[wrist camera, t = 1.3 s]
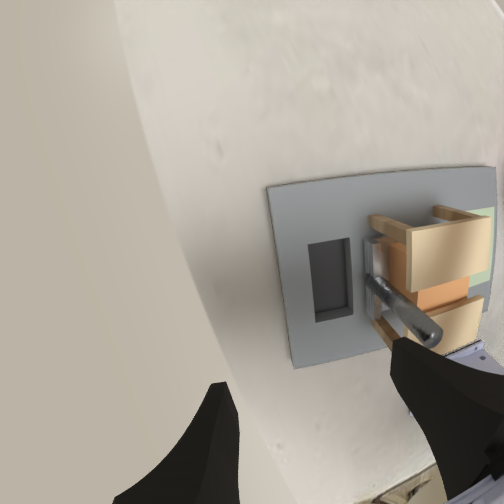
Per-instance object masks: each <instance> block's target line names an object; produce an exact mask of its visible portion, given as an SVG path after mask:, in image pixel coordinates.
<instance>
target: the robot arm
mask: <svg viewBox="0 0 504 504" xmlns="http://www.w3.org/2000/svg"><path fill="white" fill-rule="evenodd" d="M483 347H484V342H483V341H480V342H477V343H475V344H473V345H471V346H469V347H467V348H464V349H462V350H460V351H458V352H455V353H453V354H451V355H448V356H446V357H444V356H442V355H440V354H438V353H436V352H434V351H432V350H430V349H428V348H426V347H424V346H422V345H420V344H419V343H417V342H415V341H413V340H411V339H409V338H407V337H405V336H404V337H402V338H399V339H396V340H393V343H392V358H391V370H390V376H391V378H392V380H393V382H394V385H395V387H396V389H397V391H398V393H399V394H400V396H401V397H402V399H403V400H404V402H405V404H406V405H407V407H408V408H409V410H410V413H409V415H410V416H414V417H415V419H416V420H417V422H418V424H419V425H420V427H421V429H422V430H423V432H424V434H425V436H426V438H427V441H428V443H429V445H430V447H431V450H432V452H433V455H434V457H435V460H436V462H437V465H438V468H439V471H440V474H441V477H442V480H443V484H444V488H445V491H446V495H447V500H448V502H446V503H444V504H504V368H503V367H502V366H501V365H500V364H499V363H498V362H497V361H496V360H495V359H494V358H493V357H492V356H490V355H489V354H488V353H487V352H486V351H485V350H484V349H483ZM239 435H240V432H239V420H238V412H237V410H236V407H235V404H234V402H233V399H232V396H231V394H230V391H229V388H228V386H227V383H226V382H220V383H213V384H211V385H210V387H209V389H208V391H207V393H206V396H205V398H204V400H203V402H202V404H201V406H200V407H199V409H198V411H197V413H196V415H195V416H194V418H193V420H192V422H191V423H190V425H189V426H188V428H187V429H186V431H185V433H184V434H183V436H182V437H181V438H180V440H179V441H178V443H177V444H176V445H175V446H174V448H173V449H172V450H171V451H170V452H169V454H168V455H167V456H166V457H165V458H164V459H163V460H162V461H161V462H160V463H159V464H158V465H157V466H156V467H155V468H154V469H153V470H152V471H151V472H150V473H149V474H147V475H146V476H145V477H144V478H143V479H141V480H140V481H139V482H138V483H136V484H135V485H133V486H132V487H131V488H129V489H128V490H126V491H124V492H123V493H121V494H120V495H118V496H116V497H115V498H114V501H113V503H112V504H240V501H239V490H238V462H239V461H238V460H239V437H240V436H239Z"/></svg>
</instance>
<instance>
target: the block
mask: <svg viewBox="0 0 504 504" xmlns="http://www.w3.org/2000/svg"><path fill="white" fill-rule="evenodd" d="M389 253H390V283H391V284H392V285H393V286H394V287H396V288H397V289H398V290H399V291H400V292H401V293H403V294H404V295H405V296H406V297H407V298H408V299H410V300H411V301H412V302H413V303H414V304H415V305H416V306H418V307H419V308H420V309H421V310H422V311H423V312H424V313H427V312H430V311H433V310H436V309H439V308H442V307H445V306H448V305H451V304H454V303H457V302H460V301H462V300H465V299H467V296H468V288H469V280H470V276H467V277H464V278H461V279H458V280H454V281H451V282H448V283H444V284H441V285H438V286H434V287H431V288H427V289H424V290H420V291H416V292H413V293H410V292H409V291H408V290H407V289H406V262H407V253H406V245H404V244H402V243H400V242H399V243H394V244H389Z"/></svg>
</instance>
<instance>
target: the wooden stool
mask: <svg viewBox="0 0 504 504" xmlns="http://www.w3.org/2000/svg"><path fill="white" fill-rule="evenodd" d="M433 216H434V217H437V218H440V219H443V220H446V221H449V222H445V223H439V224H434V225H428V226H422V227H417V228H414V227H412V226H409V225H407V224H404V223H401V222H399V221H396V220H394V219H391V218H388V217H386V216H383V215H380V214H373V215H368V220H369V227H371V228H373V229H375V230H377V231H379V232H381V233H383V234H384V235H386V236H388V237H390V238H392V239H394V240H396V241H398V242H400V243H402V244H404V245H406V253H407V262H406V289H407V290H408V291H409V292H410V293H413V292H416V291H420V290H424V289H427V288H431V287H434V286H438V285H441V284H444V283H448V282H451V281H454V280H458V279H461V278H464V277H467V276H470V275H473V274H476V273H480V272H483V271H485V270H488V265H489V254H490V239H491V217H489V216H486V215H484V216H480V215H477V214H473V213H470V212H466V211H462V210H459V209H455V208H451V207H447V206H443V205H435V206H433ZM483 302H484V297H482V296H481V295H476V296H473V297H471V298H468V299H465V300H462V301H460V302H457V303H454V304H451V305H448V306H445V307H442V308H439V309H436V310H433V311H430V312H427V313H425V314H427V315H428V316H429V317H430V318H431V319H432V320H433V321H434V322H435V323H437V324H438V325H439V326H440V327H441V328H442V329H443V337H442V340H441V341H440V343H439V344H438V345H437V346H435V347H434V348H431V349H430V350H432V351H434V352H436V353H438V354H440V355H442V354H445V353H447V352H449V351H452V350H454V349H457V348H459V347H461V346H463V345H466V344H468V343H470V342H472V341H474V340H476V337H477V332H478V328H479V323H480V318H481V313H482V308H483ZM371 325H372V326H373V328H374V329H375V330H376V332H377V333H378V334H379V336H380V337H381V338H382V340H383V341H384V342H385V344H386V345H387V346H388V348H389V349H390V350H391V352H392V343H393V340H396V339H399V338H401V337H400V336H399V334H398V333H397V332H396V331H395V330H394V329H393V327H392V326H391V325H390V324H389V323H388V322H387V320H386V319H385V318H384V317H383V316H382V315H381V319H379V320H375V321H373V320H372V319H371ZM404 336H405V337H407V338H409V339H411V340H413V341H415V342H417V343H419V344H420V345H422V346H423V344H422V343H421V342H420V341H419V340H418V339H417V338H416V337H415V336H414V335H413V334H412V332H411V331H410V330H409V329H408V328H407V327H406V326H405V325H404V326H403V337H404Z"/></svg>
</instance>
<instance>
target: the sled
mask: <svg viewBox="0 0 504 504" xmlns="http://www.w3.org/2000/svg"><path fill="white" fill-rule="evenodd" d="M394 243H399V242H398V241H396V240H394V239H392V238H390V237H388V236H386V235H383V236H377V237H372V238H366V239H364V255H365V278H364V282H365V284H366V312H367V314H368V315H369V316H370V317H371V319H372V320H373V321H375V320H379V319H381V311H385V310H389V309H390V310H391V311H392V312H393V313H394V314H395V315H396V316H397V317H398V319H399V320H400V321H401V322H402V323H403V324H404V325H405V326H406V327H407V328H408V329H409V330H410V331H411V332H412V334H413V335H414V336H415V337H416V338H417V339H418V340H419V341H420V342H421V343H422V344H423V346H424V347H426V348H428V349H431V348H434V347H435V346H437V345H438V344H439V343H440V341H441V340H442V337H443V329H442V328H441V327H440V326H439V325H438V324H437V323H435V322H434V321H433V320H432V319H431V318H430V317H429V316H428V315H427V314H425V313H424V312H423V311H422V310H421V309H420V308H419V307H418V306H416V305H415V304H414V303H413V302H412V301H411V300H410V299H408V298H407V297H406V296H405V295H404V294H403V293H401V292H400V291H399V290H398V289H397V288H396V287H394V286H393V285H392V284H391V283H390V253H389V244H394Z"/></svg>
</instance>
